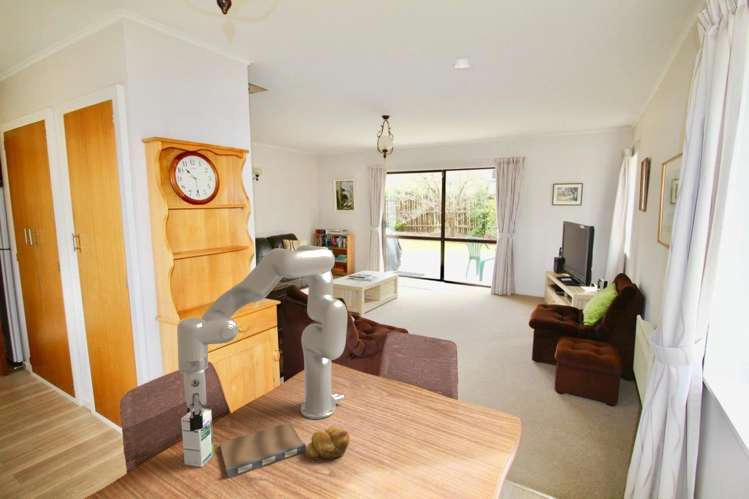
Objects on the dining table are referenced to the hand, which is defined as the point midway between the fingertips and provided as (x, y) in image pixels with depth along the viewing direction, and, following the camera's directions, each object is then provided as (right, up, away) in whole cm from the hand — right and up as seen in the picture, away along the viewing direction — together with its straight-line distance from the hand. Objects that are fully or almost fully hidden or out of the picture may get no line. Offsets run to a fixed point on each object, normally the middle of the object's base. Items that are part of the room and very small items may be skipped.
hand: (194, 420), depth 107 cm
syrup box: (0, -12, +2) cm, 13 cm away
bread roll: (+37, -12, +6) cm, 40 cm away
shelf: (+17, -12, +7) cm, 22 cm away
